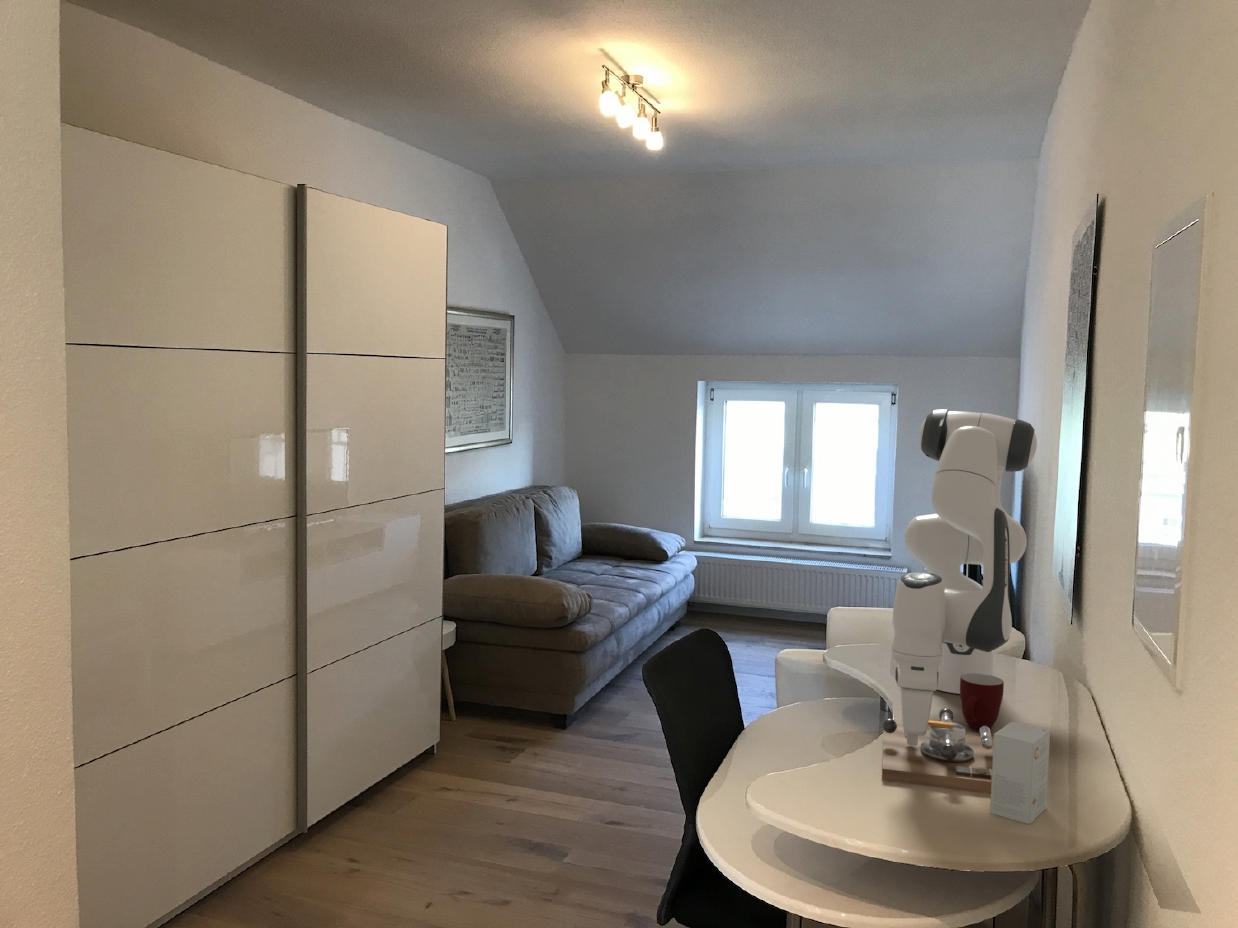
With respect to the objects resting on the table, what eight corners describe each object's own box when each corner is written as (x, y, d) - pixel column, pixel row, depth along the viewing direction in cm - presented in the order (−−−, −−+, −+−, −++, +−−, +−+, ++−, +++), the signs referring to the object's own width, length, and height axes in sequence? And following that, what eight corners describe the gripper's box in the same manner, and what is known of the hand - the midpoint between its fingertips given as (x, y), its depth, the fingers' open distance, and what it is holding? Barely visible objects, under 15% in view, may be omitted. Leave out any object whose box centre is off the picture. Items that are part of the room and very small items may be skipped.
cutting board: (883, 733, 192) (883, 715, 192) (1003, 746, 186) (1004, 728, 186) (881, 779, 169) (882, 759, 169) (1019, 796, 163) (1021, 776, 163)
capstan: (883, 722, 192) (884, 697, 191) (1008, 737, 185) (1010, 711, 185) (878, 764, 170) (880, 736, 170) (1020, 782, 163) (1021, 753, 163)
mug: (993, 742, 188) (996, 691, 188) (950, 733, 193) (952, 683, 192) (1004, 727, 197) (1007, 677, 197) (963, 718, 202) (965, 670, 201)
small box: (1006, 797, 163) (1011, 720, 162) (1047, 809, 159) (1051, 729, 158) (988, 813, 157) (992, 732, 156) (1029, 825, 153) (1034, 742, 152)
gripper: (897, 650, 184) (893, 723, 185) (897, 679, 164) (893, 761, 165) (932, 653, 182) (928, 727, 183) (937, 683, 163) (933, 766, 164)
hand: (911, 743), depth 174 cm, fingers closed
